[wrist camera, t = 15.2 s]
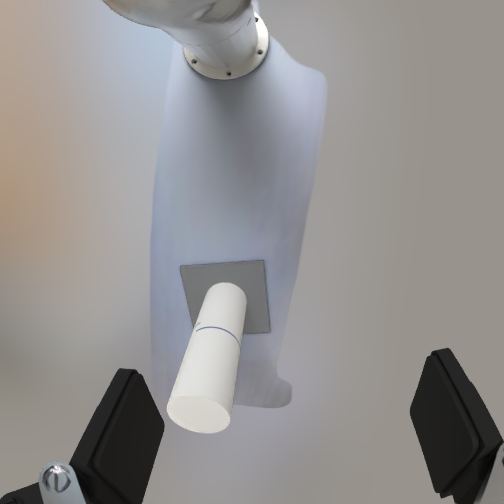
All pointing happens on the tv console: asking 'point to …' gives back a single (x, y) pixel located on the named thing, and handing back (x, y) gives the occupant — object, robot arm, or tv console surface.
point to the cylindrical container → (210, 363)
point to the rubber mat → (237, 273)
